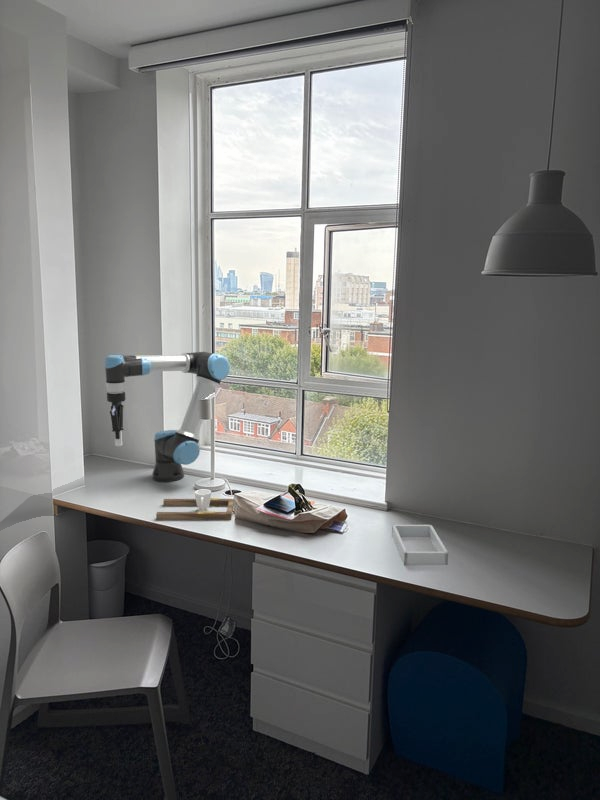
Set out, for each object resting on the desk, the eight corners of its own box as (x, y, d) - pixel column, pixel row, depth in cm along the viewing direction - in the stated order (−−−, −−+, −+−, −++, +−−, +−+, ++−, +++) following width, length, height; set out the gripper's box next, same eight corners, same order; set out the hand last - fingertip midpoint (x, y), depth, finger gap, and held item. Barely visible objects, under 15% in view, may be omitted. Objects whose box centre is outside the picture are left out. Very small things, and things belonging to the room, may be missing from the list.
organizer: (391, 535, 233) (392, 524, 232) (430, 535, 233) (431, 524, 232) (404, 565, 209) (404, 553, 209) (447, 564, 210) (448, 552, 209)
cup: (212, 506, 261) (211, 488, 259) (211, 515, 251) (210, 497, 250) (195, 507, 260) (195, 489, 259) (193, 516, 251) (193, 497, 249)
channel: (164, 504, 263) (164, 498, 263) (234, 504, 264) (234, 498, 263) (156, 519, 246) (156, 513, 246) (231, 519, 247) (230, 513, 247)
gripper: (111, 389, 266) (114, 441, 270) (102, 394, 253) (105, 449, 258) (128, 389, 266) (131, 441, 271) (120, 394, 253) (123, 449, 258)
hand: (118, 445), depth 264 cm, fingers closed
